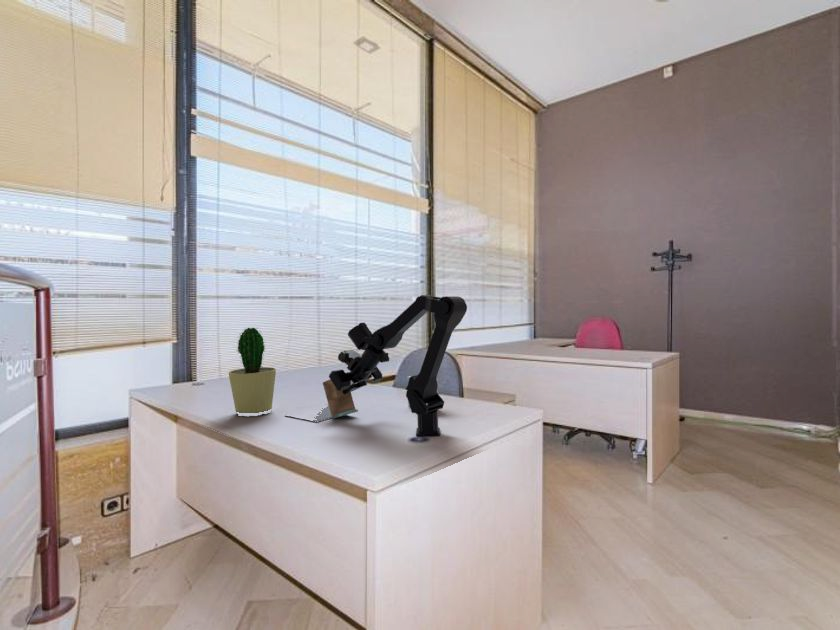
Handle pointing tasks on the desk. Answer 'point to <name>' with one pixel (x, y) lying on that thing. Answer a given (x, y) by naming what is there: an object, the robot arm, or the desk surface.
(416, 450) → the desk surface
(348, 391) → the robot arm
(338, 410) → the walnut block
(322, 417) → the grey thin slab
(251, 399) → the potted cactus
